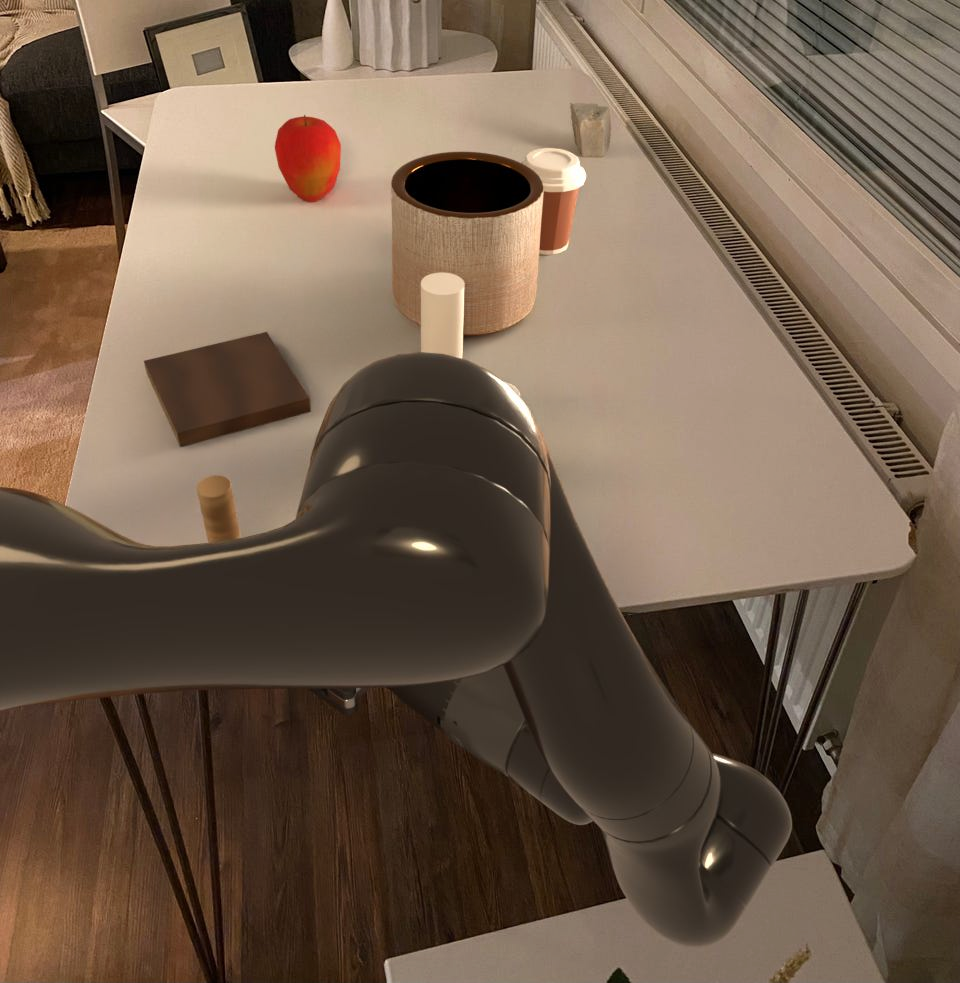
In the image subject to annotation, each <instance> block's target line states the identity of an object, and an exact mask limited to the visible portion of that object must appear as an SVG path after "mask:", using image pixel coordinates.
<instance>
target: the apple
mask: <svg viewBox="0 0 960 983" xmlns="http://www.w3.org/2000/svg"><path fill="white" fill-rule="evenodd" d="M341 147H342V144H341V140H340V139H339V136H338V134H337V131H336V130H335V129H334V128H333V127H332V126H331V125H330V124H329V123H328V122H326V121H325V120H324V119H320V118H318V117H313V116H306V114H304V115H303V116H297V117H292V118H289V119H288V120H286V121H285V122H284V123H283V124H282V125H281V126H280V127H279V128H278V130H277V134H276V137H275V142H274V153H275V157H276V161H277V167H278V169H279V171H280V173H281V175H282V177H283V179H284V181H285V183H286V185H287V187H288V188H289V190H290V191H291V192H292V193H293V194H294V195H296V196H297V197H298V198H299V199H301V200H302V201H304V202H307V203H314V202H319V201H320V200H322V199H323V198H324V197H325V196H327V195H328V194H329V193H330V192H331V191H332V190H333V189H334V188H335V186H336V182H337V179H338V176H339V174H340V170H341V159H342V158H341V156H342V148H341Z"/></svg>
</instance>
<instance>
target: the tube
mask: <svg viewBox="0 0 960 983" xmlns="http://www.w3.org/2000/svg"><path fill="white" fill-rule="evenodd" d="M464 285H465V284H464V281H463V279H462V278H460V277H459V276H457V275H454V274H451V273H443V272H442V273H433V274H430V275H427V276H425V277H424V278H423V279H422V281H421V325H420V352H426V353H439V354H446V355H450V356H454V357H457V358H461V359H463V349H464V348H463V346H464V335H463V318H464Z"/></svg>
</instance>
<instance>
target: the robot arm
mask: <svg viewBox="0 0 960 983" xmlns="http://www.w3.org/2000/svg"><path fill="white" fill-rule="evenodd" d="M506 382H507V381H504V380H503V379H502V378H500V377H499V376H498V375H496V374H494V373H493V372H492V371H491V370H489V369H487V368H485V367H483V366H481V365H478V364H477V363H474V362H472V361H470V360H468V359H465V358H462V359H461V358H457V357H454V356H450V355H446V354H439V353H426V352H421V351H416V352H406V353H397V354H394V355H390V356H387V357H385V358H379V359H377V360H375V361H373V362H371V363H369V364H367V365H365V366H364V367H361V369H359V370H358V371H356V372H355V373H354V374H353V375H352V376H350V377H349V378H348V379H347V380H346V381H345V382H344V383H343V384H342V385H341V387H340V388H339V389H338V391H337V392H336V394H335V395H334V397H333V398H332V400H331V401H330V403H329V404H328V407H327V408H326V409H327V410H326V412H325V414H324V416H323V420H322V422H321V425H320V427H319V430H318V432H317V435H316V437H315V440H314V444H313V447H312V451H311V455H310V458H309V465H308V468H307V471H306V476H305V480H304V484H303V487H302V492H301V496H300V499H299V503H298V507H297V511H296V515H295V518H294V519H293V520H292V521H290V522H289V523H288V522H287V523H286V524H284V525H283V526H280V527H277V528H274V529H271V530H268V531H265V532H261V533H257V534H252V535H248V536H244V537H241V538H238V539H232V540H226V541H220V542H211V543H208V542H202V543H192V544H190V543H189V544H182V545H171V546H167V545H166V546H163V545H161V546H159V545H151V544H144V543H141V542H138V541H135V540H133V539H130V538H129V537H126V536H124V535H122V534H120V533H119V532H116V531H115V530H113V529H112V528H109V527H108V526H106V525H104V524H103V523H100V521H97V520H95V519H94V518H92V517H90V516H88V515H87V514H84V513H82V512H81V511H78V510H77V509H75V508H72V507H70V506H68V505H66V504H64V503H62V502H60V501H58V500H55V499H52V498H50V497H48V496H45V495H43V494H39V493H36V492H34V491H29V490H27V489H22V488H15V487H7V486H0V711H6V710H13V709H18V708H26V707H32V706H39V705H47V704H57V703H64V702H75V701H83V700H84V701H85V700H93V699H105V698H115V697H123V696H132V695H133V696H134V695H145V694H146V695H147V694H160V693H161V694H162V693H176V692H191V691H222V690H224V691H225V690H226V691H227V690H230V691H231V690H303V689H304V690H305V689H306V690H308V691H309V692H311V693H312V694H313V695H315V696H317V697H318V698H320V699H321V700H322V701H323V702H324V703H327V704H328V705H329V706H331V707H333V709H335V710H337V711H338V712H339V713H341V715H344V716H351V715H354V714H355V713H356V712H357V711H358V708H359V704H358V701H359V700H360V699H361V698H363V696H364V695H365V694H366V693H367V692H368V691H369V690H370V689H374V688H375V689H376V688H377V689H378V688H385V689H387V690H388V691H390V692H392V693H393V694H394V695H395V696H396V697H397V698H398V699H399V700H400V701H401V702H402V703H403V704H405V705H406V706H407V707H409V709H411V710H412V711H414V712H415V713H416V714H417V715H419V716H420V717H422V718H423V719H424V720H426V721H427V722H428V723H430V724H431V725H432V726H433V727H435V728H436V729H437V730H438V731H440V732H441V733H443V734H444V735H446V737H448V738H449V740H450V741H452V742H453V743H454V744H455V745H456V746H457V747H459V748H463V749H464V751H466V752H468V753H469V754H470V755H472V756H473V757H474V758H476V759H477V760H478V761H480V762H482V763H483V764H485V765H487V766H489V767H491V768H493V769H495V770H496V771H498V772H500V773H501V774H503V775H504V776H506V777H508V778H509V779H510V780H511V781H512V782H514V783H516V784H517V786H519V787H521V788H522V789H523V790H524V791H526V792H527V793H528V794H530V795H531V796H533V797H534V798H535V799H537V800H538V801H539V802H541V803H542V804H543V805H545V806H546V807H547V808H548V809H549V810H551V811H552V812H554V813H555V815H557V816H559V817H560V818H562V819H563V820H565V821H567V822H569V823H571V824H574V825H578V826H584V825H588V824H590V823H592V822H593V823H594V824H596V825H597V827H598V828H599V830H600V832H601V834H602V837H603V838H602V839H603V841H604V844H605V847H606V851H607V854H608V857H609V861H610V864H611V868H612V871H613V873H614V876H615V878H616V881H617V883H618V885H619V888H620V889H621V891H622V893H623V895H624V896H625V898H626V900H627V902H628V903H629V905H630V906H631V908H632V909H633V910H634V911H635V913H636V915H638V916H639V918H640V919H641V920H642V921H643V923H645V924H646V925H647V926H648V927H649V928H650V929H651V930H652V931H654V932H655V933H656V934H657V935H659V936H660V937H662V938H664V939H665V940H667V941H669V942H671V943H673V944H675V945H678V946H682V947H684V948H691V949H699V948H706V947H710V946H714V945H716V944H718V943H719V942H721V941H723V940H724V939H725V938H727V937H728V936H729V935H730V933H731V932H732V931H733V930H734V929H735V927H736V926H737V924H738V923H739V921H740V919H741V918H742V916H743V914H744V913H745V911H747V910H746V909H747V908H748V906H749V905H750V903H751V901H752V900H753V898H754V897H755V895H756V893H757V892H758V890H759V888H760V887H761V885H762V883H763V882H764V880H765V879H766V877H767V876H768V874H769V872H770V871H771V868H772V867H773V866H774V864H775V863H776V861H777V860H778V858H779V856H780V854H781V853H782V852H783V850H784V848H785V847H786V845H787V843H788V841H789V840H790V837H791V834H792V830H793V819H792V818H793V817H792V814H791V811H790V807H789V805H788V803H787V801H786V799H785V798H784V796H783V795H782V793H781V792H780V790H779V788H777V787H776V785H775V784H774V783H773V782H772V781H771V780H770V779H769V778H767V776H765V775H764V774H763V773H761V772H760V771H758V770H757V769H755V768H753V767H752V766H750V765H747V764H746V763H743V762H740V761H738V760H735V759H733V758H730V757H728V756H725V755H722V754H718V753H717V752H716V753H715V752H712V751H711V749H710V748H709V746H708V745H707V743H706V742H705V741H704V739H703V738H702V736H701V735H700V733H699V732H698V731H697V728H695V726H694V725H693V723H692V722H691V720H690V719H689V718H688V716H687V715H686V713H685V712H684V710H683V709H682V707H681V706H680V705H679V703H678V702H677V701H676V698H674V697H673V695H672V693H671V692H670V691H669V689H668V688H667V687H666V685H665V683H664V681H663V680H662V679H661V678H660V676H659V673H657V671H656V669H655V668H654V666H653V664H652V663H651V662H650V660H649V659H648V657H647V655H646V653H645V652H644V650H643V648H642V647H641V645H640V644H639V641H638V640H637V638H636V636H635V635H634V633H633V631H632V630H631V628H630V626H629V624H628V622H627V621H626V618H625V616H624V615H623V612H621V609H620V608H619V606H618V604H617V602H616V600H615V598H614V596H613V595H612V593H611V591H610V589H609V586H608V585H607V583H606V580H605V579H604V576H603V574H602V573H601V570H600V569H599V567H598V565H597V563H596V561H595V559H594V556H593V555H592V552H591V550H590V548H589V547H588V543H587V541H586V540H585V538H584V535H583V532H582V531H581V528H580V527H579V524H578V521H577V520H576V518H575V515H574V512H573V509H572V508H571V504H570V502H569V500H568V497H567V495H566V492H565V489H564V487H563V484H562V481H561V479H560V476H559V474H558V471H557V468H556V465H555V463H554V460H553V458H552V455H551V453H550V450H549V449H548V445H547V443H546V441H545V439H544V435H543V433H542V431H541V428H540V426H539V424H538V422H537V419H536V418H535V415H534V414H533V412H532V411H531V409H530V408H529V406H528V404H527V403H526V401H524V399H523V398H522V397H521V395H520V396H519V395H518V394H517V393H516V392H515V391H514V390H513V389H512V388H511V387H510V386H509V385H508V384H507V383H508V382H507V383H506Z"/></svg>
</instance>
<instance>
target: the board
mask: <svg viewBox="0 0 960 983" xmlns="http://www.w3.org/2000/svg"><path fill="white" fill-rule="evenodd" d="M143 365H144V369H145V373H146V375H147V378H148V380H149V382H150V384H151V386H152V388H153V391H154V394H155V395H156V398H157V400H158V401H159V404H160V406H161V408H162V411H163V413H164V415H165V417H166V419H167V422H168V424H169V426H170V428H171V430H172V432H173V434H174V437H175V438H176V442H177V444H178V446H179V447H185V446H188V445H193V444H196V443H200V442H205V441H207V440H211V439H214V438H218V437H222V436H226V435H229V434H233V433H236V432H240V431H244V430H247V429H251V428H255V427H259V426H262V425H265V424H269V423H270V424H271V423H273V422H277V421H280V420H285V419H288V418H291V417H295V416H299V415H302V414H305V413H309V412H311V411H312V410H311V408H312V407H311V400H310V399H311V398H310V396H309V395H308V393H307V392H306V390H305V389H304V387H303V386H302V384H301V383H300V381H299V380H298V378H297V376H296V375H295V373H294V371H293V370H292V369H291V367H290V365H289V364H288V362H287V361H286V359H285V358H284V356H283V355H282V353H281V351H280V350H279V349H278V347H277V345H276V343H275V342H274V341H273V339H272V337H271V336H270V334H269V332H268V331H263V332H259V333H255V334H251V335H246V336H242V337H239V338H233V339H230V340H226V341H221V342H217V343H213V344H209V345H208V344H207V345H204V346H200V347H195V348H192V349H191V348H190V349H188V350H183V351H179V352H175V353H170V354H166V355H162V356H158V357H154V358H149V359H145V360H143Z"/></svg>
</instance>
